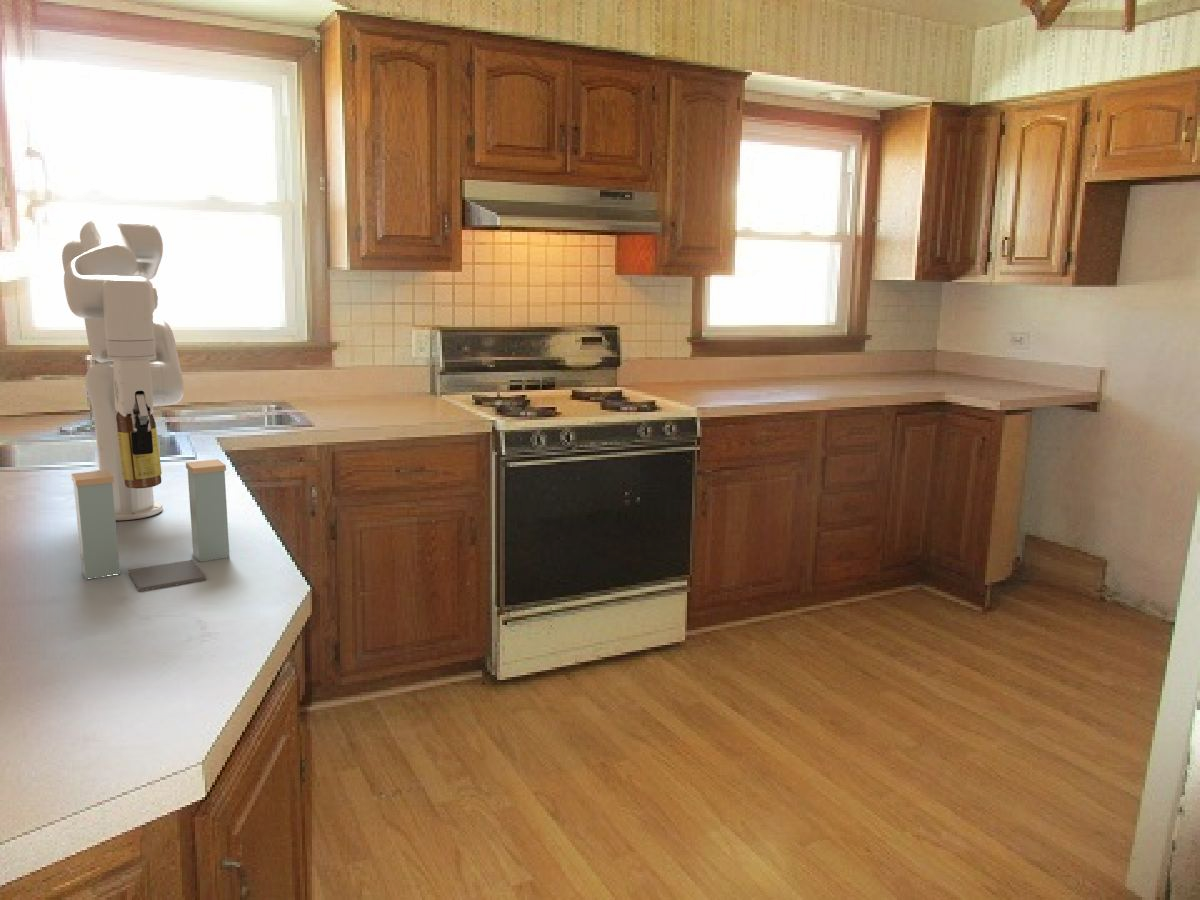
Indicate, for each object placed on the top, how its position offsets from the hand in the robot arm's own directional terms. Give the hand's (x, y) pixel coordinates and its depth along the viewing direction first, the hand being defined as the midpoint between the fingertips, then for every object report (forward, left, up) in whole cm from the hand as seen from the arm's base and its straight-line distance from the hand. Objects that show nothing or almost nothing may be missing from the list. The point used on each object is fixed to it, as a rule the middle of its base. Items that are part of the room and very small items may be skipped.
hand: (139, 449), depth 157 cm
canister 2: (+10, +9, -19) cm, 23 cm away
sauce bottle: (0, 0, -7) cm, 7 cm away
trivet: (+17, 0, -19) cm, 26 cm away
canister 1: (+10, -9, -19) cm, 23 cm away
